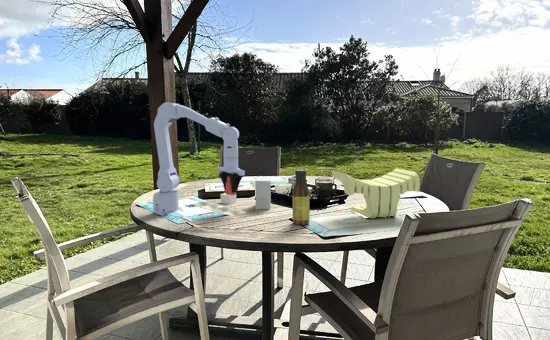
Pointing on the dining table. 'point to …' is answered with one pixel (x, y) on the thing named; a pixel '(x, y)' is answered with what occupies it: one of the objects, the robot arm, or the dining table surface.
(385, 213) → the slatted curved stool
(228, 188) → the pawn
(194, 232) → the dining table surface
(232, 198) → the die
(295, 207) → the sauce bottle
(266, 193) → the small box
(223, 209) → the board
